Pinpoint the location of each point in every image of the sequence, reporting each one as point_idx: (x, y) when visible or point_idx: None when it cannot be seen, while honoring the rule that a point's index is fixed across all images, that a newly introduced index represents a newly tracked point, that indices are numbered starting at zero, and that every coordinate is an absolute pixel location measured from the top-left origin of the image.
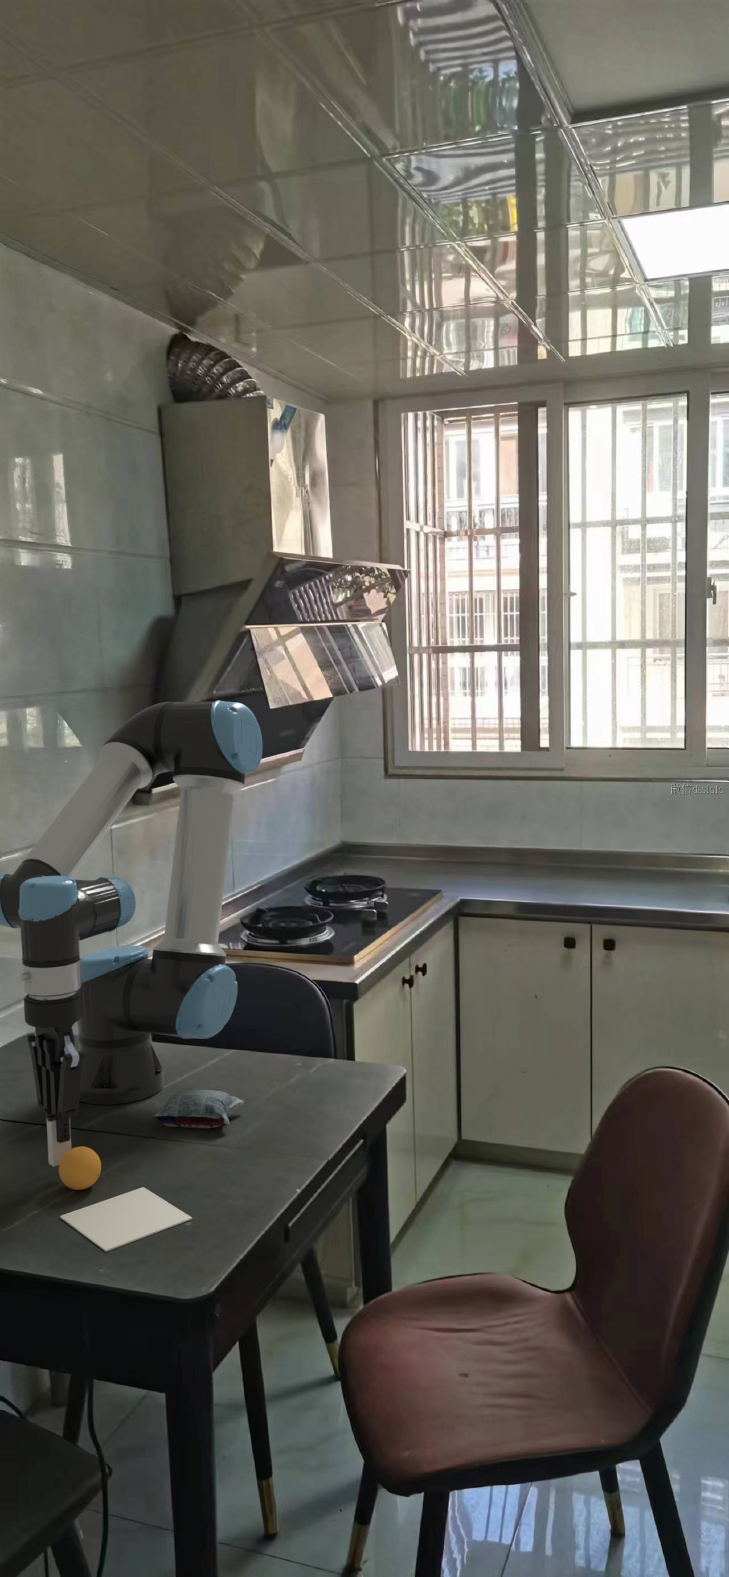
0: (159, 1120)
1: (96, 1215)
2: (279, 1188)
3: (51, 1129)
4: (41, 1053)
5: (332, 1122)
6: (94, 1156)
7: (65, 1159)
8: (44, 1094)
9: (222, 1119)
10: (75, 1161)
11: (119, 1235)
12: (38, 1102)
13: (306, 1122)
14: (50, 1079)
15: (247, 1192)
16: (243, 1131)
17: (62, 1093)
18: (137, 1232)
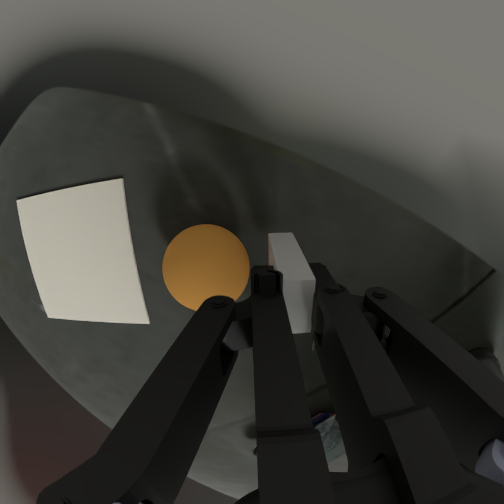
0: (326, 414)
1: (94, 228)
2: (89, 402)
3: (277, 267)
4: (409, 484)
5: (208, 477)
6: (178, 300)
7: (196, 247)
8: (353, 321)
9: (254, 452)
10: (172, 259)
11: (36, 230)
12: (381, 291)
13: (223, 472)
14: (302, 388)
15: (89, 384)
16: (244, 448)
17: (163, 363)
18: (35, 251)
